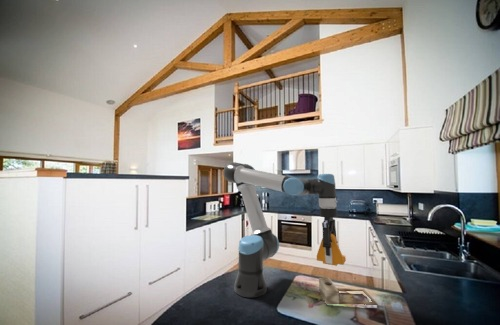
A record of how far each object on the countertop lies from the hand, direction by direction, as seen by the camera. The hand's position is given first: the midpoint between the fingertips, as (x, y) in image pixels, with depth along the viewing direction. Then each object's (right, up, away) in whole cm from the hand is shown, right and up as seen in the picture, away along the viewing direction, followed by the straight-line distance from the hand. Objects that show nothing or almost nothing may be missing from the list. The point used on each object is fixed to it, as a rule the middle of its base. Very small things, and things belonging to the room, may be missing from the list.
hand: (331, 260), depth 90 cm
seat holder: (+6, -16, -2) cm, 17 cm away
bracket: (0, -1, 0) cm, 1 cm away
